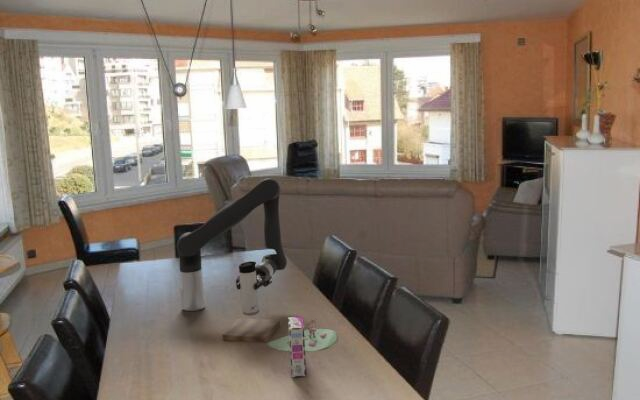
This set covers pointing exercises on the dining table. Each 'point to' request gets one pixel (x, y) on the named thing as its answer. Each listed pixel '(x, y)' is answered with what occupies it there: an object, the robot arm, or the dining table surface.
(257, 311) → the travel mug
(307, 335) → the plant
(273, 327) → the walnut board
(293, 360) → the candy bar box
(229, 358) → the dining table surface
